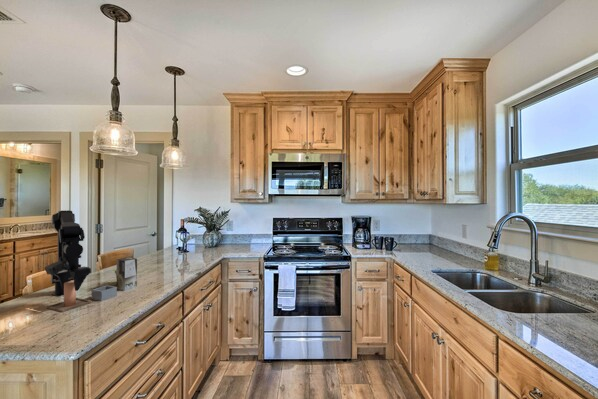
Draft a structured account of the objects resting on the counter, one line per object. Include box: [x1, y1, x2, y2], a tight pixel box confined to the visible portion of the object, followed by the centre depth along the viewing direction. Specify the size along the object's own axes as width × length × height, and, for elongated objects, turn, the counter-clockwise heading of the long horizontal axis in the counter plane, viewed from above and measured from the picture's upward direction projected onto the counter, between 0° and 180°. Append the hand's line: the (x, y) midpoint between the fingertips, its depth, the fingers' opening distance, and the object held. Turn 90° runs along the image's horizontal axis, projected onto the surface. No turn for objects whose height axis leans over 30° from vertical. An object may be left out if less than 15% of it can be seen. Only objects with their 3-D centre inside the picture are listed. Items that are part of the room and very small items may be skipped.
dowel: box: [63, 280, 77, 307], centre depth 118 cm, size 4×4×10 cm
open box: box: [91, 285, 118, 302], centre depth 128 cm, size 7×7×5 cm
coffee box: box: [116, 256, 138, 292], centre depth 143 cm, size 9×6×16 cm
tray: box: [46, 297, 93, 313], centre depth 118 cm, size 11×11×1 cm
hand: (70, 289), depth 118 cm, fingers open, 9 cm apart
